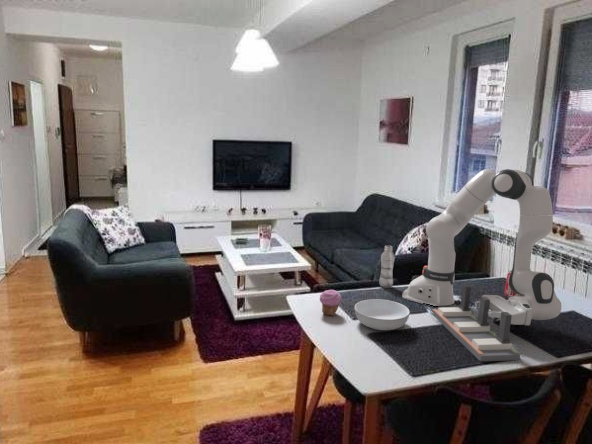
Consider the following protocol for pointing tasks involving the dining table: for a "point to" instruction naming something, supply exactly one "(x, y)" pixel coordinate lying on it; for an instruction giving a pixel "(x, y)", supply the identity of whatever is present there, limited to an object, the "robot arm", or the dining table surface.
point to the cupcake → (330, 302)
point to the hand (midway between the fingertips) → (482, 308)
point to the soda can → (508, 290)
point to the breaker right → (504, 328)
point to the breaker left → (465, 298)
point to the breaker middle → (483, 311)
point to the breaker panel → (475, 335)
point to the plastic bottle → (387, 267)
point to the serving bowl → (381, 314)
